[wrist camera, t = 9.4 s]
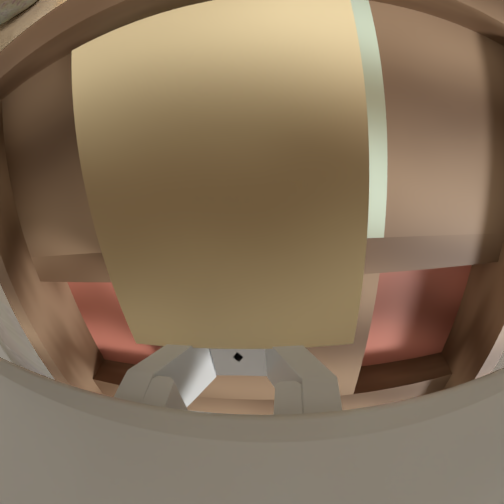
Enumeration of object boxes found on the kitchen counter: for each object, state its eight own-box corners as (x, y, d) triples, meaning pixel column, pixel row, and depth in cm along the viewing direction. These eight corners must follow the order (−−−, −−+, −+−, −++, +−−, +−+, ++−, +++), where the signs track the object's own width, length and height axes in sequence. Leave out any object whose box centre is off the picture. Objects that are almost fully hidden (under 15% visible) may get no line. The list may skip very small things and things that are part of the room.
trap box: (405, 431, 20) (413, 466, 16) (147, 434, 23) (136, 466, 19) (487, 36, 6) (538, 25, 2) (18, 85, 9) (-36, 90, 5)
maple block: (330, 269, 10) (353, 343, 6) (176, 275, 11) (136, 343, 7) (320, 46, 7) (349, -5, 3) (143, 70, 7) (71, 50, 4)
